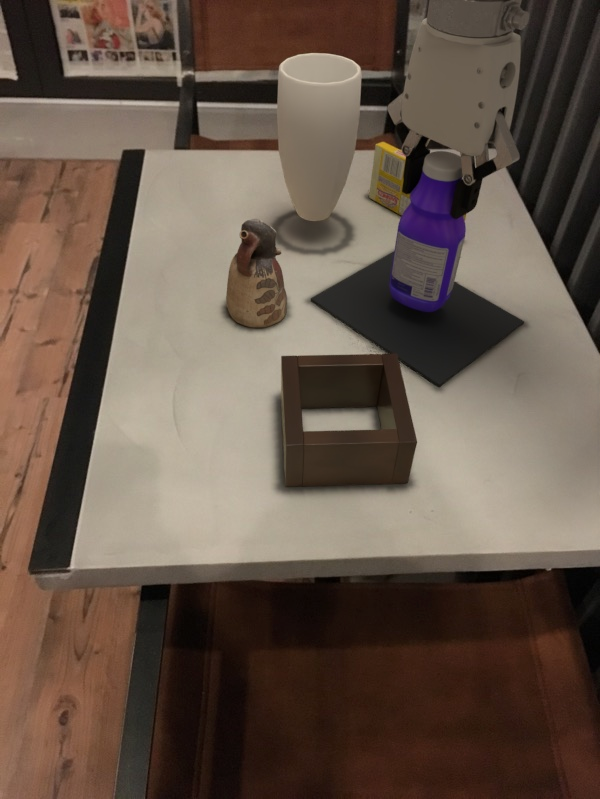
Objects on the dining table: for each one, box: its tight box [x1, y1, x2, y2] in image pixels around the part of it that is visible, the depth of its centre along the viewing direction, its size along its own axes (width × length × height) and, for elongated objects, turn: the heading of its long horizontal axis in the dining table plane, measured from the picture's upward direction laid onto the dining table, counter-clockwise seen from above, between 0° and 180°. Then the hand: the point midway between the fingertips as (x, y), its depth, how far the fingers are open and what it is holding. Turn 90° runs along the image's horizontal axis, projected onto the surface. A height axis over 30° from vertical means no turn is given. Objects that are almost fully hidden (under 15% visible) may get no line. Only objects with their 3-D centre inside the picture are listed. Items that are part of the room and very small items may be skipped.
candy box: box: [368, 141, 467, 222], centre depth 94 cm, size 16×2×8 cm, turn 41°
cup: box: [276, 52, 363, 222], centre depth 86 cm, size 10×10×22 cm
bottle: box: [389, 150, 467, 312], centre depth 75 cm, size 7×6×17 cm
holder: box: [280, 353, 418, 487], centre depth 66 cm, size 12×12×6 cm
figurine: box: [225, 218, 288, 328], centre depth 78 cm, size 7×7×12 cm
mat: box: [310, 251, 525, 388], centre depth 82 cm, size 20×16×1 cm
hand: (437, 199), depth 72 cm, fingers closed on bottle, 5 cm apart
